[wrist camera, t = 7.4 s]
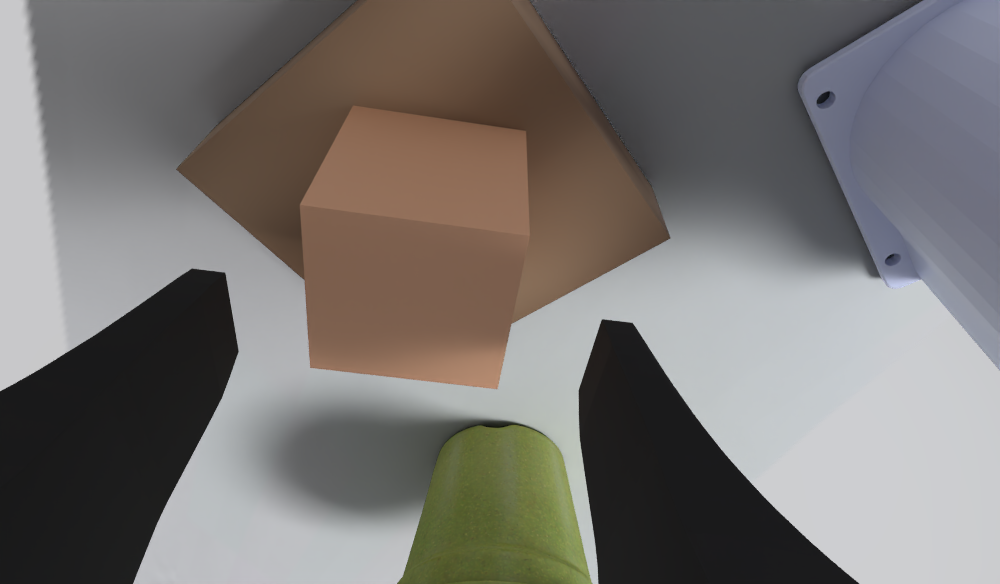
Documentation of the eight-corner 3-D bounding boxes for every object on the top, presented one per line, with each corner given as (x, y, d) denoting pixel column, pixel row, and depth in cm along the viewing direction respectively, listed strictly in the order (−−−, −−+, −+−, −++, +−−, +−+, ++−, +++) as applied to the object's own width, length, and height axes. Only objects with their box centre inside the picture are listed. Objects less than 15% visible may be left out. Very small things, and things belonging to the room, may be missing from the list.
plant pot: (365, 467, 30) (323, 658, 24) (482, 363, 26) (470, 564, 19) (512, 533, 34) (511, 716, 27) (637, 452, 29) (674, 648, 22)
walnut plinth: (652, 188, 20) (670, 238, 18) (424, 320, 24) (415, 375, 22) (466, -97, 16) (457, -79, 13) (217, 124, 19) (176, 169, 17)
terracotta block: (526, 131, 16) (529, 235, 12) (500, 267, 19) (497, 389, 15) (353, 105, 16) (299, 204, 12) (353, 248, 19) (310, 367, 15)
